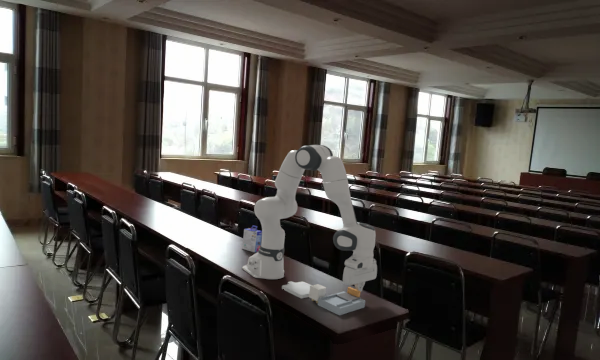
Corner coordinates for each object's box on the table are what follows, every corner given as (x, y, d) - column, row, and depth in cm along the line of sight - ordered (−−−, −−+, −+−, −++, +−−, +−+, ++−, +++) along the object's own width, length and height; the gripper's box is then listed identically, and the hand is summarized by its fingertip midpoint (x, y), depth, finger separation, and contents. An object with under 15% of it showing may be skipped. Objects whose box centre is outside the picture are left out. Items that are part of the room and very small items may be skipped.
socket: (317, 305, 181) (318, 296, 181) (342, 297, 193) (343, 289, 193) (339, 315, 173) (340, 306, 173) (364, 307, 185) (365, 298, 184)
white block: (308, 300, 185) (310, 285, 185) (316, 298, 189) (318, 283, 188) (316, 304, 182) (318, 289, 181) (324, 302, 185) (326, 287, 185)
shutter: (336, 296, 185) (336, 289, 185) (347, 292, 191) (348, 286, 191) (349, 302, 180) (350, 295, 180) (360, 298, 186) (361, 291, 186)
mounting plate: (278, 287, 198) (278, 283, 198) (298, 283, 207) (299, 279, 207) (305, 301, 185) (305, 297, 185) (326, 296, 194) (326, 292, 194)
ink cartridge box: (260, 251, 254) (263, 227, 253) (255, 253, 249) (257, 228, 248) (247, 247, 259) (249, 223, 258) (241, 249, 254) (244, 225, 253)
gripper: (370, 256, 199) (366, 285, 200) (342, 261, 184) (338, 293, 186) (382, 259, 194) (378, 289, 196) (353, 265, 180) (349, 298, 181)
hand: (358, 291), depth 190 cm, fingers closed
